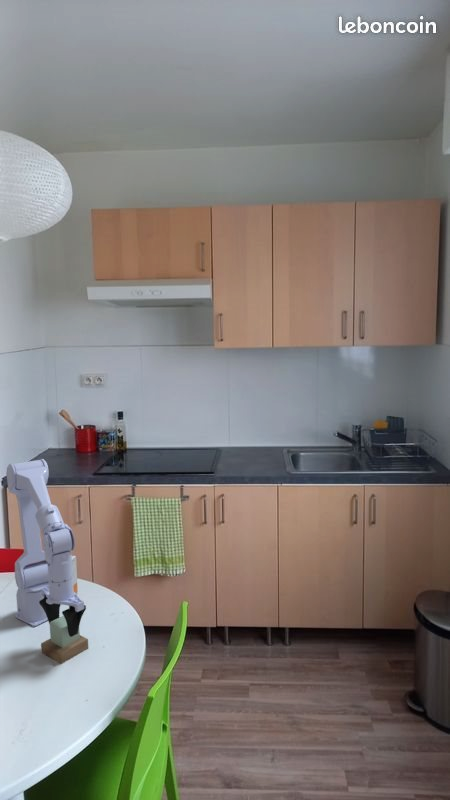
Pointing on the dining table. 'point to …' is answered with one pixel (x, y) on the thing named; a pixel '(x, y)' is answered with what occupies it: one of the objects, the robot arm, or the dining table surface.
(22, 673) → the dining table surface
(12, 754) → the dining table surface
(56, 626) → the sage cube
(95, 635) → the dining table surface
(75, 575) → the skincare box
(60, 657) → the walnut block
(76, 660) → the dining table surface
